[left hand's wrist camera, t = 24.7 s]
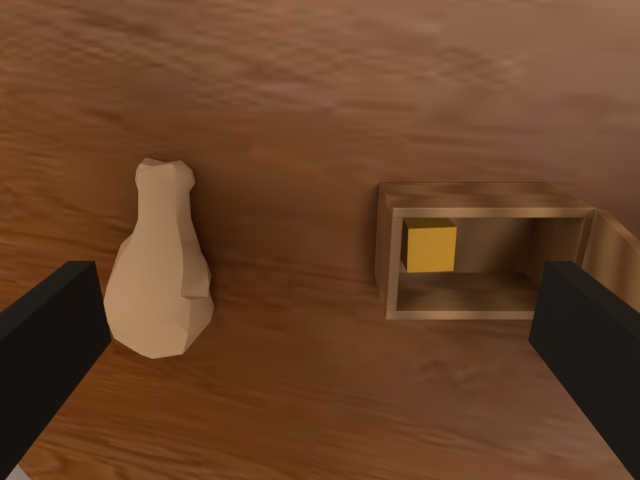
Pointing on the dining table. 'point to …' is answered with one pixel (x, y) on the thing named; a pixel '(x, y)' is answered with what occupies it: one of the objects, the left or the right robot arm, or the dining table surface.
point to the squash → (160, 268)
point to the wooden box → (478, 247)
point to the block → (428, 244)
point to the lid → (614, 258)
